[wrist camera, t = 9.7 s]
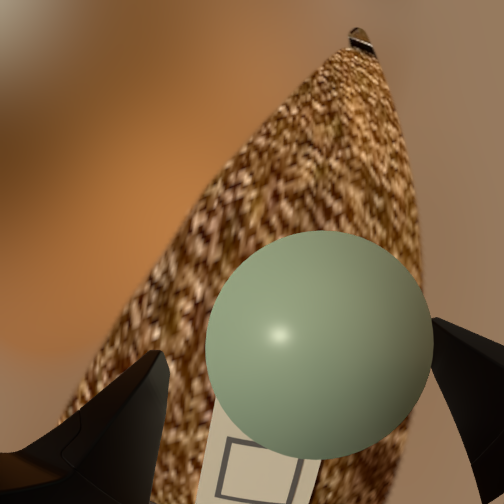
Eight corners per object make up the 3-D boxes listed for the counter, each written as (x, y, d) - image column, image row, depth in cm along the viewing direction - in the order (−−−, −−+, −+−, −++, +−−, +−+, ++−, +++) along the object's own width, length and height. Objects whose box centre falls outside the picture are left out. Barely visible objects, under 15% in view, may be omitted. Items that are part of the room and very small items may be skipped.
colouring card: (299, 526, 11) (299, 529, 11) (194, 511, 12) (193, 513, 12) (344, 318, 18) (346, 317, 17) (235, 302, 19) (235, 301, 18)
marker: (308, 400, 15) (406, 463, 4) (238, 384, 16) (177, 427, 4) (324, 333, 17) (438, 257, 5) (257, 317, 18) (243, 210, 6)
